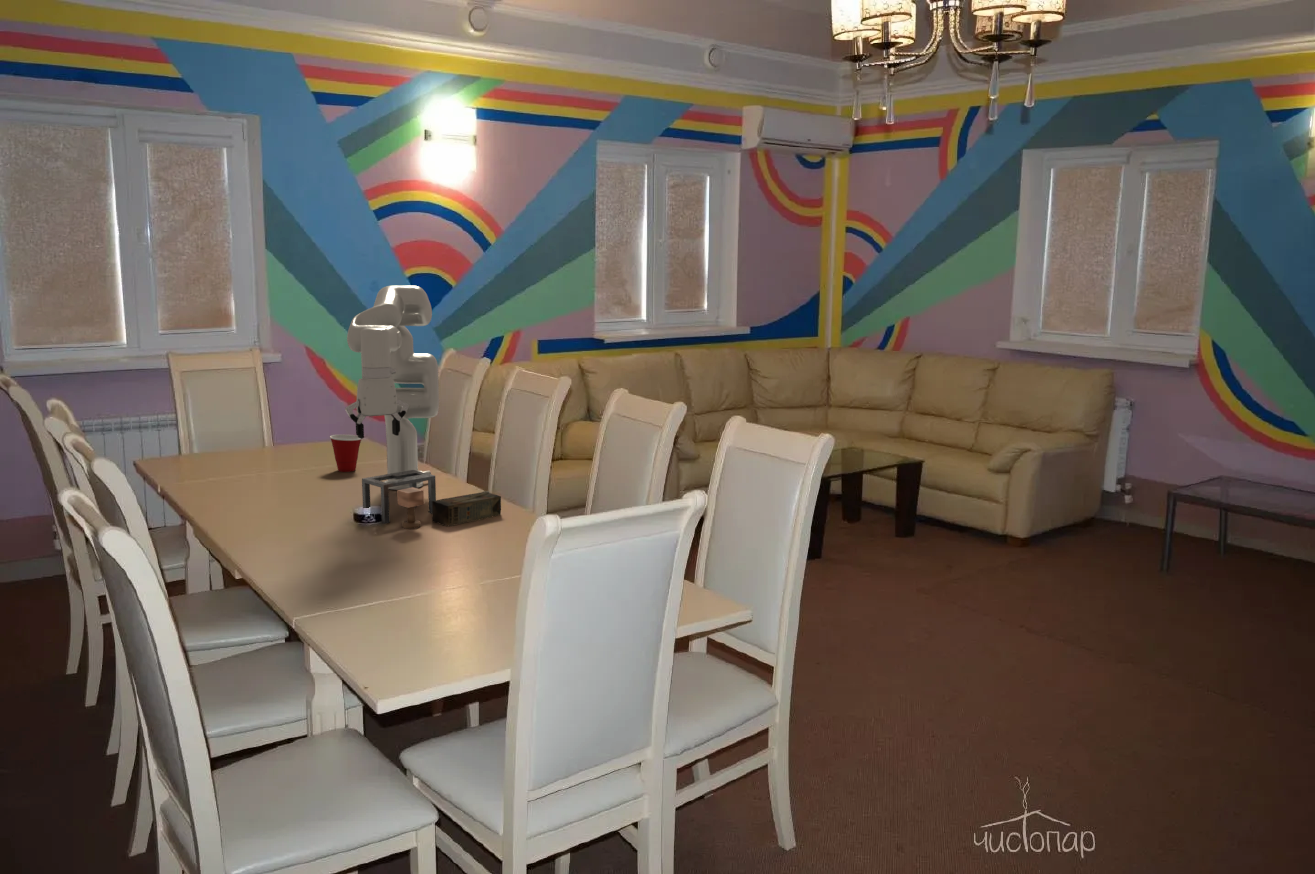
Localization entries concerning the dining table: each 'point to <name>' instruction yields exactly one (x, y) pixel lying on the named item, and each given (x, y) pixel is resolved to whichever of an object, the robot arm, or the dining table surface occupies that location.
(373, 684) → the dining table surface
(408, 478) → the keyhole rack
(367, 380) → the robot arm
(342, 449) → the plastic cup
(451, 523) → the beverage carton
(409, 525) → the t peg
